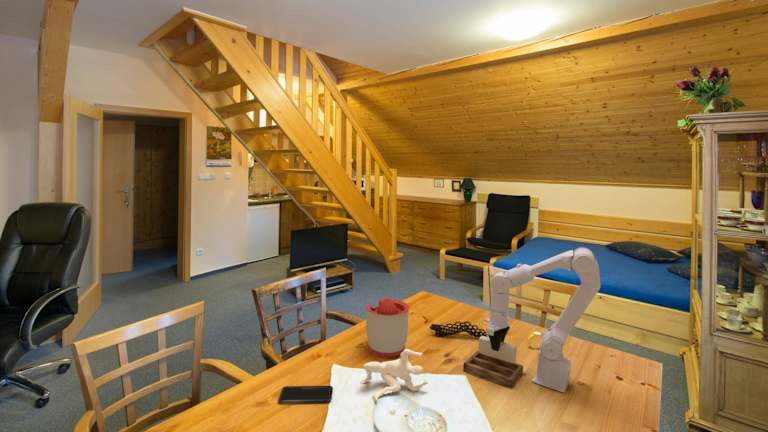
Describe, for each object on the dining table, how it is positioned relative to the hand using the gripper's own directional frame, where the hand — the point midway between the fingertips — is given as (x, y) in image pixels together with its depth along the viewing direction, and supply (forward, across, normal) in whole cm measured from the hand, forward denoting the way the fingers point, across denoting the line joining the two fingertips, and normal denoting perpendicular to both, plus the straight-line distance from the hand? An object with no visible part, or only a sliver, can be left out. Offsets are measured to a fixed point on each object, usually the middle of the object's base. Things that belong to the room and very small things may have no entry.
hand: (496, 348), depth 131 cm
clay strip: (+3, 0, 0) cm, 3 cm away
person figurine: (+8, +30, -21) cm, 37 cm away
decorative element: (+8, -15, -21) cm, 27 cm away
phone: (+8, +50, -38) cm, 63 cm away
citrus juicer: (+8, +12, -37) cm, 40 cm away
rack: (+7, +2, 0) cm, 8 cm away
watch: (+8, -24, +6) cm, 26 cm away
